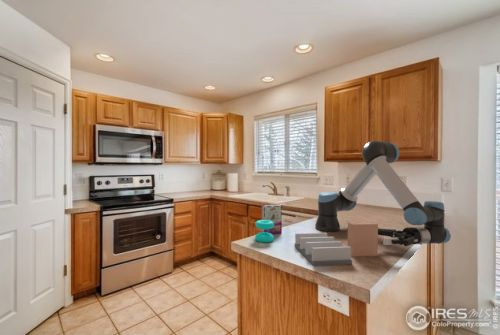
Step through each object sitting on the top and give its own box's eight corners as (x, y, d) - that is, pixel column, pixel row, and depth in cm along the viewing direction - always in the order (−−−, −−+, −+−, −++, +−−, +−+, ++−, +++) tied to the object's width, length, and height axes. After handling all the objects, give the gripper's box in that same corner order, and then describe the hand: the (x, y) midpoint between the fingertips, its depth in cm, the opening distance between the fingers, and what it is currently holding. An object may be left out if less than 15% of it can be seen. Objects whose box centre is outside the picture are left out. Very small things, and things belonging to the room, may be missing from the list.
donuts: (266, 224, 119) (251, 221, 125) (266, 244, 119) (251, 240, 125) (277, 221, 127) (262, 218, 133) (277, 240, 127) (262, 236, 133)
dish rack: (294, 246, 117) (294, 232, 117) (325, 245, 119) (325, 232, 119) (313, 265, 93) (314, 249, 93) (351, 264, 95) (352, 248, 95)
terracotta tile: (347, 253, 108) (347, 222, 108) (371, 252, 109) (372, 222, 109) (352, 256, 104) (352, 224, 104) (377, 255, 105) (377, 224, 105)
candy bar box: (278, 231, 145) (278, 204, 145) (281, 233, 140) (282, 205, 140) (261, 232, 142) (261, 204, 142) (263, 234, 137) (264, 206, 137)
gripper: (440, 253, 97) (393, 255, 94) (395, 236, 122) (356, 237, 119) (440, 235, 97) (393, 236, 94) (395, 221, 122) (356, 222, 119)
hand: (373, 236), depth 107 cm, fingers open, 13 cm apart
